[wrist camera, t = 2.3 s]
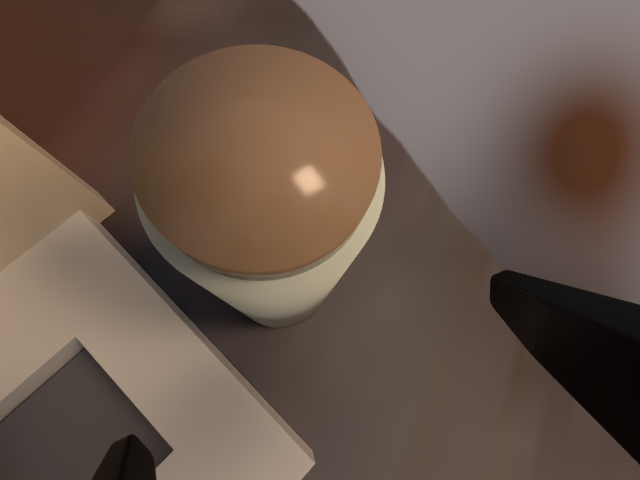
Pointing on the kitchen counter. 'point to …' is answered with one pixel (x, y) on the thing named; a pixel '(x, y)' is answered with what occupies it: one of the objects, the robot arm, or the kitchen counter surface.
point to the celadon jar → (258, 177)
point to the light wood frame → (110, 349)
